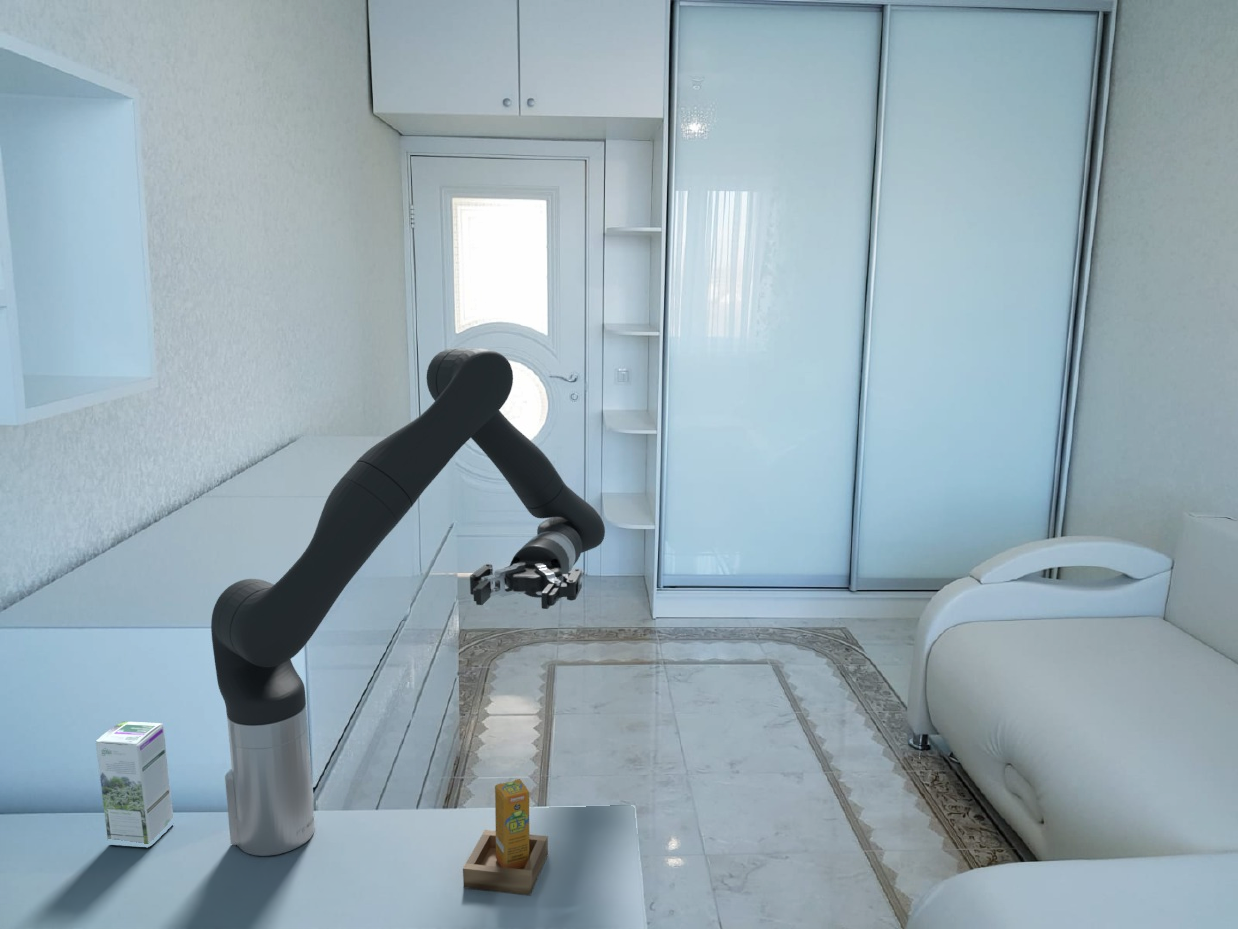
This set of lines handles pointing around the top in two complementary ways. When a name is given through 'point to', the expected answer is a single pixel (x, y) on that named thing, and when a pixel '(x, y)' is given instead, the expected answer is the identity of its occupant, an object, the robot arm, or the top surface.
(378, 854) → the top surface
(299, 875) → the top surface
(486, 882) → the tray
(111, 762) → the syrup box
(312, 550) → the robot arm
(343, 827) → the top surface
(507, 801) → the supplement box
